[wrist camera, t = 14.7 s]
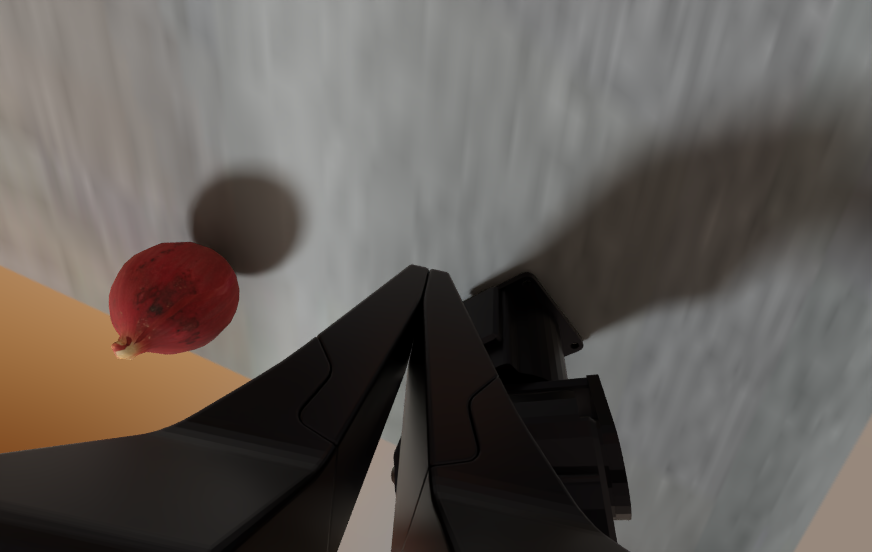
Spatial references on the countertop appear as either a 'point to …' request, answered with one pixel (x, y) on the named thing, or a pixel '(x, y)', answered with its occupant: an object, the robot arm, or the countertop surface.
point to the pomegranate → (171, 299)
